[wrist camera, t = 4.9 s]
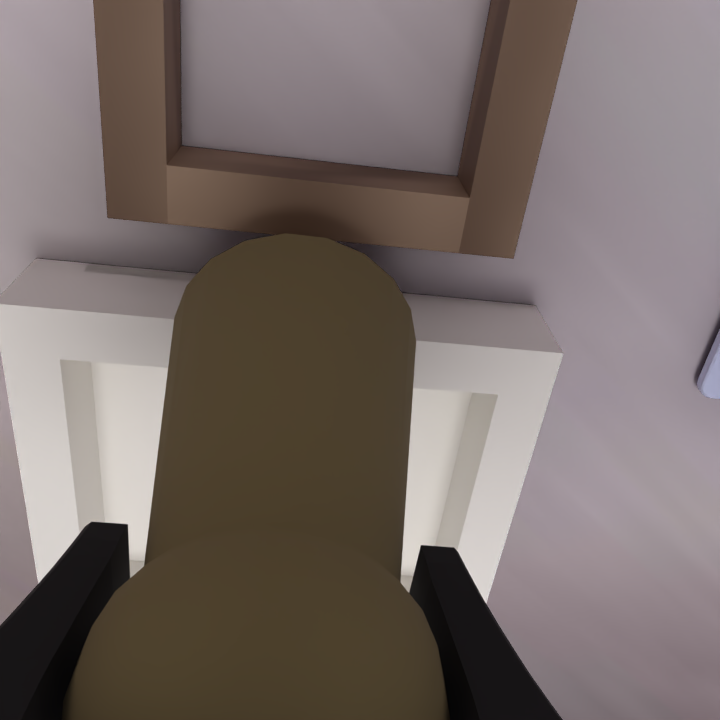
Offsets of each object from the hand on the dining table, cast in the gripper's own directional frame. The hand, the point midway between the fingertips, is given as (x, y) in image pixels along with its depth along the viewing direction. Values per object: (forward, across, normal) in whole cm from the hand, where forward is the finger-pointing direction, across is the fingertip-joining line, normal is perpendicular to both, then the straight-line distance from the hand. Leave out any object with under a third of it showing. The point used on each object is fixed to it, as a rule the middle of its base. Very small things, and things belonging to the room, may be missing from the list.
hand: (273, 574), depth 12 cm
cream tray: (+10, 0, +6) cm, 12 cm away
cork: (+7, 0, -1) cm, 7 cm away
